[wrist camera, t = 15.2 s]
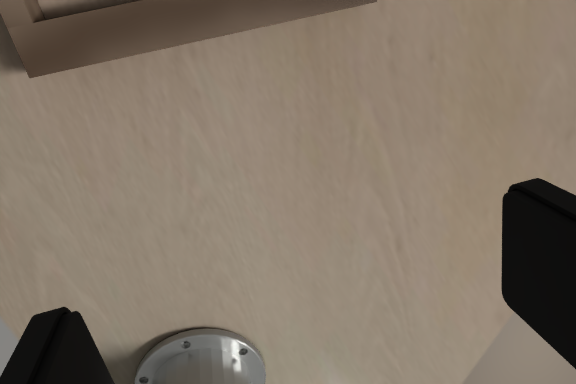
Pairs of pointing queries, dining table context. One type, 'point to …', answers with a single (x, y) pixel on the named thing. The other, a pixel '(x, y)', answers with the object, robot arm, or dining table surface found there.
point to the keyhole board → (141, 27)
